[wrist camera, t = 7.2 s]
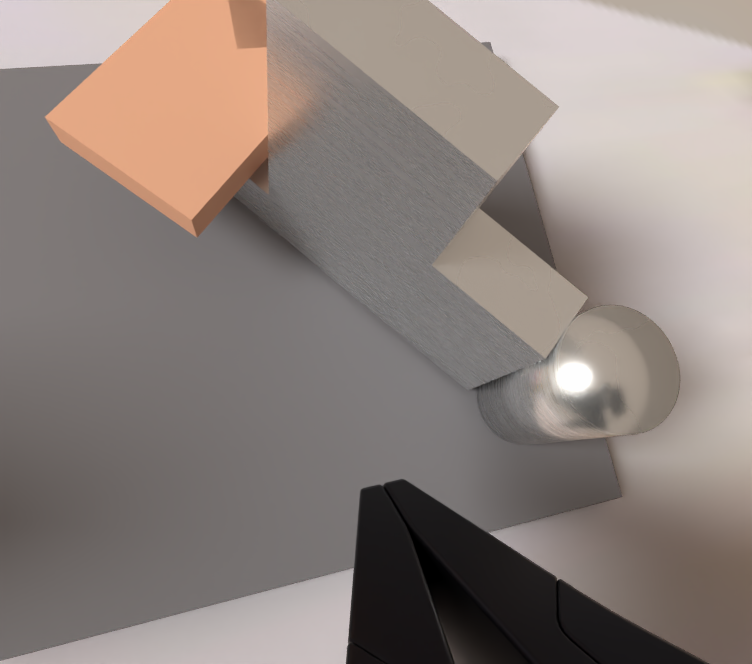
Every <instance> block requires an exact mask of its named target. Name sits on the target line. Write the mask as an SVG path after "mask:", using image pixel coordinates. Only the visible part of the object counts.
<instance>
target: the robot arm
mask: <svg viewBox="0 0 752 664" xmlns="http://www.w3.org/2000/svg"><path fill="white" fill-rule="evenodd" d="M346 664H709V663H707V662H706V661H704V660H702V659H700V658H698V657H696V656H694V655H692V654H690V653H689V652H687V651H685V650H683V649H681V648H679V647H677V646H675V645H673V644H672V643H670V642H668V641H666V640H664V639H662V638H660V637H658V636H656V635H654V634H653V633H651V632H649V631H647V630H645V629H643V628H642V627H640V626H638V625H636V624H634V623H633V622H631V621H629V620H627V619H625V618H624V617H622V616H620V615H618V614H616V613H615V612H613V611H611V610H609V609H608V608H606V607H604V606H603V605H601V604H600V603H598V602H596V601H595V600H593V599H591V598H590V597H588V596H586V595H585V594H583V593H582V592H580V591H578V590H577V589H575V588H574V587H572V586H571V585H569V584H568V583H566V582H564V581H563V580H561V579H560V580H558V581H557V578H556V577H555V576H554V575H552V574H551V573H549V572H548V571H546V570H545V569H543V568H542V567H540V566H538V565H537V564H535V563H534V562H532V561H531V560H529V559H528V558H526V557H524V556H523V555H521V554H520V553H518V552H517V551H515V550H514V549H512V548H511V547H509V546H507V545H506V544H504V543H503V542H501V541H500V540H498V539H497V538H495V537H494V536H492V535H490V534H489V533H487V532H486V531H484V530H483V529H481V528H480V527H478V526H477V525H475V524H473V523H472V522H470V521H469V520H467V519H466V518H464V517H463V516H461V515H460V514H458V513H456V512H455V511H453V510H452V509H450V508H449V507H447V506H446V505H444V504H442V503H441V502H439V501H438V500H436V499H435V498H433V497H432V496H430V495H429V494H427V493H425V492H424V491H422V490H421V489H419V488H418V487H416V486H415V485H413V484H412V483H410V482H408V481H407V480H405V479H399V480H394V481H390V482H386V483H385V484H384V485H383V486H382V485H380V484H378V485H374V486H370V487H366V488H362V489H361V491H360V498H359V510H358V523H357V535H356V548H355V561H354V573H353V586H352V598H351V611H350V624H349V636H348V646H347V657H346Z"/></svg>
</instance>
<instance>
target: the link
mask: <svg viewBox="0 0 752 664" xmlns="http://www.w3.org/2000/svg"><path fill="white" fill-rule="evenodd" d="M266 23H267V97H268V157H267V159H266V160H265V161H264V162H263V163H262V164H261V165H260V167H259V168H258V169H257V170H256V171H255V172H254V173H253V175H252V176H251V177H250V178H249V179H248V180H247V181H246V183H245V184H244V185H243V186H242V187H241V188H240V189H239V191H238V192H237V193H236V194H235V195H234V196H233V197H234V198H235V199H236V200H238V201H239V202H240V203H241V204H242V205H244V206H245V207H246V208H247V209H249V210H250V211H251V212H252V213H253V214H255V215H256V216H257V217H258V218H259V219H261V220H262V221H263V222H264V223H265V224H267V225H268V226H269V227H270V228H272V229H273V230H274V231H275V232H276V233H278V234H279V235H280V236H281V237H282V238H284V239H285V240H286V241H287V242H289V243H290V244H291V245H292V246H293V247H295V248H296V249H297V250H298V251H299V252H301V253H302V254H303V255H304V256H305V257H307V258H308V259H309V260H310V261H312V262H313V263H314V264H315V265H316V266H318V267H319V268H320V269H321V270H322V271H324V272H325V273H326V274H327V275H329V276H330V277H331V278H332V279H333V280H335V281H336V282H337V283H338V284H339V285H341V286H342V287H343V288H344V289H345V290H347V291H348V292H349V293H350V294H352V295H353V296H354V297H355V298H356V299H358V300H359V301H360V302H361V303H362V304H364V305H365V306H366V307H367V308H369V309H370V310H371V311H372V312H373V313H375V314H376V315H377V316H378V317H379V318H381V319H382V320H383V321H384V322H386V323H387V324H388V325H389V326H390V327H392V328H393V329H394V330H395V331H396V332H398V333H399V334H400V335H401V336H402V337H404V338H405V339H406V340H407V341H409V342H410V343H411V344H412V345H413V346H415V347H416V348H417V349H418V350H419V351H421V352H422V353H423V354H424V355H426V356H427V357H428V358H429V359H430V360H432V361H433V362H434V363H435V364H436V365H438V366H439V367H440V368H441V369H442V370H444V371H445V372H446V373H447V374H449V375H450V376H451V377H452V378H453V379H455V380H456V381H457V382H458V383H459V384H461V385H462V386H463V387H464V388H466V389H467V390H470V389H473V388H475V387H477V391H476V397H477V404H478V409H479V411H480V414H481V416H482V418H483V420H484V422H485V423H486V425H487V426H488V427H489V428H490V430H491V431H492V432H494V433H495V434H496V435H497V436H498V437H500V438H501V439H503V440H505V441H507V442H510V443H513V444H517V445H532V444H543V443H553V442H563V441H573V440H583V439H593V438H603V437H613V436H624V435H634V434H639V433H644V432H646V431H649V430H651V429H653V428H655V427H656V426H658V425H659V424H660V423H662V422H663V421H664V420H665V419H666V418H667V416H668V415H669V414H670V412H671V411H672V409H673V407H674V405H675V403H676V400H677V397H678V393H679V387H680V371H679V365H678V361H677V358H676V354H675V352H674V350H673V347H672V345H671V343H670V342H669V340H668V338H667V337H666V335H665V334H664V333H663V331H662V330H661V329H660V328H659V327H658V326H657V325H656V324H655V323H654V322H653V321H652V320H651V319H649V318H648V317H646V316H645V315H643V314H642V313H640V312H638V311H636V310H633V309H631V308H628V307H624V306H618V305H604V306H599V307H595V308H592V309H590V310H588V311H586V312H584V313H582V314H580V315H578V316H576V314H577V313H578V312H579V310H580V309H581V307H582V306H583V304H584V303H585V301H586V300H587V299H588V297H587V296H586V295H585V294H584V293H582V292H581V291H580V290H579V289H577V288H576V287H575V286H574V285H573V284H571V283H570V282H569V281H568V280H566V279H565V278H564V277H563V276H562V275H560V274H559V273H558V272H557V271H555V270H554V269H553V268H552V267H551V266H549V265H548V264H547V263H546V262H544V261H543V260H542V259H541V258H540V257H538V256H537V255H536V254H535V253H533V252H532V251H531V250H530V249H529V248H527V247H526V246H525V245H524V244H522V243H521V242H520V241H519V240H518V239H516V238H515V237H514V236H513V235H511V234H510V233H509V232H508V231H507V230H505V229H504V228H503V227H502V226H500V225H499V224H498V223H497V222H496V221H494V220H493V219H492V218H491V217H489V216H488V215H487V214H486V213H485V212H483V211H482V210H481V209H480V206H481V205H482V204H483V203H484V201H485V200H486V199H487V198H488V196H489V195H490V194H491V193H492V191H493V190H494V189H495V187H496V186H497V185H498V184H499V182H500V181H501V180H502V179H503V177H504V176H505V175H506V173H507V172H508V171H509V170H510V168H511V167H512V166H513V165H514V163H515V162H516V161H517V160H518V158H519V157H520V156H521V154H522V153H523V152H524V151H525V149H526V148H527V147H528V146H529V144H530V143H531V142H532V141H533V139H534V138H535V137H536V135H537V134H538V133H539V132H540V130H541V129H542V128H543V127H544V125H545V124H546V123H547V122H548V120H549V119H550V118H551V116H552V115H553V114H554V113H555V111H556V110H557V109H558V108H559V106H557V105H556V104H555V103H554V102H553V101H551V100H550V99H549V98H548V97H546V96H545V95H544V94H543V93H541V92H540V91H539V90H538V89H537V88H535V87H534V86H533V85H532V84H530V83H529V82H528V81H527V80H525V79H524V78H523V77H522V76H521V75H519V74H518V73H517V72H516V71H514V70H513V69H512V68H511V67H510V66H508V65H507V64H506V63H505V62H503V61H502V60H501V59H500V58H498V57H497V56H496V55H495V54H494V53H492V52H491V51H490V50H489V49H487V48H486V47H485V46H484V45H482V44H481V43H480V42H479V41H478V40H476V39H475V38H474V37H473V36H471V35H470V34H469V33H468V32H466V31H465V30H464V29H463V28H462V27H460V26H459V25H458V24H457V23H455V22H454V21H453V20H452V19H450V18H449V17H448V16H447V15H446V14H444V13H443V12H442V11H441V10H439V9H438V8H437V7H436V6H434V5H433V4H432V3H431V2H430V1H428V0H266ZM575 316H576V317H575Z"/></svg>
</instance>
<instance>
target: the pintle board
mask: <svg viewBox="0 0 752 664" xmlns="http://www.w3.org/2000/svg"><path fill="white" fill-rule="evenodd" d="M481 44H482V45H484V46H485V47H486V48H487V49H489V50H490V51H491V52H492V53H493V50H492V47H491V43H490V42H484V43H481ZM267 157H268V97H267V23H266V0H170V1H169V2H168V3H167V4H166V5H165V6H164V7H163V8H162V9H161V10H160V11H159V12H157V13H156V14H155V15H154V16H153V17H152V18H151V19H150V20H149V21H148V22H147V23H146V24H145V25H143V26H142V27H141V28H140V29H139V30H138V31H137V32H136V33H135V34H134V35H133V36H132V37H131V38H129V39H128V40H127V41H126V42H125V43H124V44H123V45H122V46H121V47H120V48H119V49H118V50H116V51H115V52H114V53H113V54H112V55H111V56H110V57H109V58H108V59H107V60H106V61H105V62H104V63H102V64H85V65H66V66H48V67H30V68H12V69H0V661H1V660H5V659H9V658H13V657H16V656H20V655H24V654H28V653H32V652H35V651H39V650H43V649H47V648H51V647H54V646H58V645H62V644H66V643H69V642H73V641H77V640H81V639H85V638H88V637H92V636H96V635H100V634H104V633H107V632H111V631H115V630H119V629H123V628H126V627H130V626H134V625H138V624H142V623H145V622H149V621H153V620H157V619H161V618H164V617H168V616H172V615H176V614H180V613H183V612H187V611H191V610H195V609H199V608H202V607H206V606H210V605H214V604H218V603H221V602H225V601H229V600H233V599H237V598H240V597H244V596H248V595H252V594H256V593H259V592H263V591H267V590H271V589H275V588H278V587H282V586H286V585H290V584H293V583H297V582H301V581H305V580H309V579H312V578H316V577H320V576H324V575H328V574H331V573H335V572H339V571H343V570H347V569H350V568H354V561H355V548H356V535H357V523H358V510H359V498H360V491H361V489H362V488H366V487H370V486H374V485H378V484H380V485H382V486H383V485H384V484H385V483H386V482H390V481H394V480H399V479H405V480H407V481H408V482H410V483H412V484H413V485H415V486H416V487H418V488H419V489H421V490H422V491H424V492H425V493H427V494H429V495H430V496H432V497H433V498H435V499H436V500H438V501H439V502H441V503H442V504H444V505H446V506H447V507H449V508H450V509H452V510H453V511H455V512H456V513H458V514H460V515H461V516H463V517H464V518H466V519H467V520H469V521H470V522H472V523H473V524H475V525H477V526H478V527H480V528H481V529H483V530H484V531H486V532H491V531H495V530H499V529H502V528H506V527H510V526H514V525H517V524H521V523H525V522H529V521H533V520H536V519H540V518H544V517H548V516H552V515H555V514H559V513H563V512H567V511H571V510H574V509H578V508H582V507H586V506H590V505H593V504H597V503H601V502H605V501H609V500H612V499H616V498H620V497H622V494H621V491H620V487H619V484H618V480H617V477H616V474H615V470H614V467H613V463H612V460H611V456H610V453H609V449H608V446H607V443H606V439H605V437H603V438H593V439H583V440H573V441H563V442H553V443H543V444H532V445H517V444H513V443H510V442H507V441H505V440H503V439H501V438H500V437H498V436H497V435H496V434H495V433H494V432H492V431H491V430H490V428H489V427H488V426H487V425H486V423H485V422H484V420H483V418H482V416H481V414H480V411H479V409H478V404H477V397H476V391H477V387H475V388H473V389H470V390H467V389H466V388H464V387H463V386H462V385H461V384H459V383H458V382H457V381H456V380H455V379H453V378H452V377H451V376H450V375H449V374H447V373H446V372H445V371H444V370H442V369H441V368H440V367H439V366H438V365H436V364H435V363H434V362H433V361H432V360H430V359H429V358H428V357H427V356H426V355H424V354H423V353H422V352H421V351H419V350H418V349H417V348H416V347H415V346H413V345H412V344H411V343H410V342H409V341H407V340H406V339H405V338H404V337H402V336H401V335H400V334H399V333H398V332H396V331H395V330H394V329H393V328H392V327H390V326H389V325H388V324H387V323H386V322H384V321H383V320H382V319H381V318H379V317H378V316H377V315H376V314H375V313H373V312H372V311H371V310H370V309H369V308H367V307H366V306H365V305H364V304H362V303H361V302H360V301H359V300H358V299H356V298H355V297H354V296H353V295H352V294H350V293H349V292H348V291H347V290H345V289H344V288H343V287H342V286H341V285H339V284H338V283H337V282H336V281H335V280H333V279H332V278H331V277H330V276H329V275H327V274H326V273H325V272H324V271H322V270H321V269H320V268H319V267H318V266H316V265H315V264H314V263H313V262H312V261H310V260H309V259H308V258H307V257H305V256H304V255H303V254H302V253H301V252H299V251H298V250H297V249H296V248H295V247H293V246H292V245H291V244H290V243H289V242H287V241H286V240H285V239H284V238H282V237H281V236H280V235H279V234H278V233H276V232H275V231H274V230H273V229H272V228H270V227H269V226H268V225H267V224H265V223H264V222H263V221H262V220H261V219H259V218H258V217H257V216H256V215H255V214H253V213H252V212H251V211H250V210H249V209H247V208H246V207H245V206H244V205H242V204H241V203H240V202H239V201H238V200H236V199H235V198H234V197H233V196H234V195H235V194H236V193H237V192H238V191H239V189H240V188H241V187H242V186H243V185H244V184H245V183H246V181H247V180H248V179H249V178H250V177H251V176H252V175H253V173H254V172H255V171H256V170H257V169H258V168H259V167H260V165H261V164H262V163H263V162H264V161H265V160H266V159H267ZM480 209H481V210H482V211H483V212H485V213H486V214H487V215H488V216H489V217H491V218H492V219H493V220H494V221H496V222H497V223H498V224H499V225H500V226H502V227H503V228H504V229H505V230H507V231H508V232H509V233H510V234H511V235H513V236H514V237H515V238H516V239H518V240H519V241H520V242H521V243H522V244H524V245H525V246H526V247H527V248H529V249H530V250H531V251H532V252H533V253H535V254H536V255H537V256H538V257H540V258H541V259H542V260H543V261H544V262H546V263H547V264H548V265H549V266H551V267H552V268H553V269H554V270H555V271H557V270H556V267H555V264H554V260H553V257H552V253H551V250H550V246H549V243H548V239H547V236H546V233H545V229H544V226H543V222H542V219H541V215H540V212H539V208H538V205H537V202H536V198H535V195H534V191H533V188H532V184H531V181H530V177H529V174H528V171H527V167H526V164H525V160H524V157H523V153H522V154H521V156H520V157H519V158H518V160H517V161H516V162H515V163H514V165H513V166H512V167H511V168H510V170H509V171H508V172H507V173H506V175H505V176H504V177H503V179H502V180H501V181H500V182H499V184H498V185H497V186H496V187H495V189H494V190H493V191H492V193H491V194H490V195H489V196H488V198H487V199H486V200H485V201H484V203H483V204H482V205H481V206H480Z"/></svg>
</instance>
